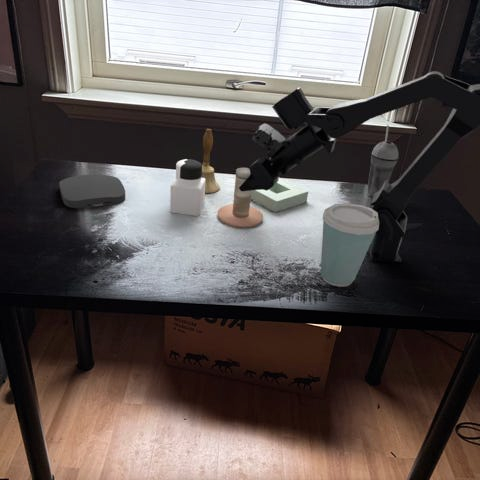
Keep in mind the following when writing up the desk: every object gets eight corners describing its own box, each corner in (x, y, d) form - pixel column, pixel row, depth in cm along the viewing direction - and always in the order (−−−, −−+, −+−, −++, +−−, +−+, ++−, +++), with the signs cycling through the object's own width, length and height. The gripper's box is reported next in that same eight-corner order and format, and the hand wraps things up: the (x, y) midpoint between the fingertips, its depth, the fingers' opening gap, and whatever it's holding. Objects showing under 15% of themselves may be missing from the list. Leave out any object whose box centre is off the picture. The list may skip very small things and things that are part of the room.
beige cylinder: (251, 216, 113) (256, 173, 107) (236, 218, 111) (240, 175, 106) (244, 209, 116) (249, 167, 111) (229, 211, 114) (233, 168, 109)
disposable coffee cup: (302, 281, 92) (315, 212, 85) (320, 257, 101) (334, 193, 93) (355, 300, 88) (374, 229, 81) (369, 274, 97) (387, 208, 89)
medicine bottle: (204, 204, 118) (207, 158, 112) (199, 216, 112) (201, 169, 106) (176, 200, 119) (177, 155, 113) (169, 212, 112) (170, 165, 107)
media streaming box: (58, 186, 120) (56, 175, 119) (116, 181, 126) (115, 171, 125) (65, 211, 109) (64, 199, 107) (129, 205, 115) (128, 193, 113)
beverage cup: (390, 201, 131) (410, 130, 121) (364, 199, 131) (382, 128, 121) (384, 191, 137) (402, 123, 128) (359, 188, 137) (375, 120, 127)
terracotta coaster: (263, 229, 109) (263, 226, 109) (216, 225, 109) (216, 222, 109) (262, 209, 119) (262, 206, 118) (218, 205, 119) (219, 202, 118)
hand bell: (190, 180, 131) (193, 123, 123) (220, 182, 131) (225, 126, 124) (187, 192, 124) (190, 132, 116) (219, 195, 124) (223, 135, 116)
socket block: (306, 201, 125) (308, 191, 124) (275, 212, 118) (276, 201, 117) (274, 186, 133) (276, 176, 131) (243, 194, 126) (244, 184, 124)
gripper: (291, 106, 107) (242, 144, 116) (263, 124, 92) (209, 166, 100) (319, 146, 109) (268, 180, 117) (296, 171, 93) (240, 208, 102)
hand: (247, 182), depth 109 cm, fingers open, 9 cm apart
